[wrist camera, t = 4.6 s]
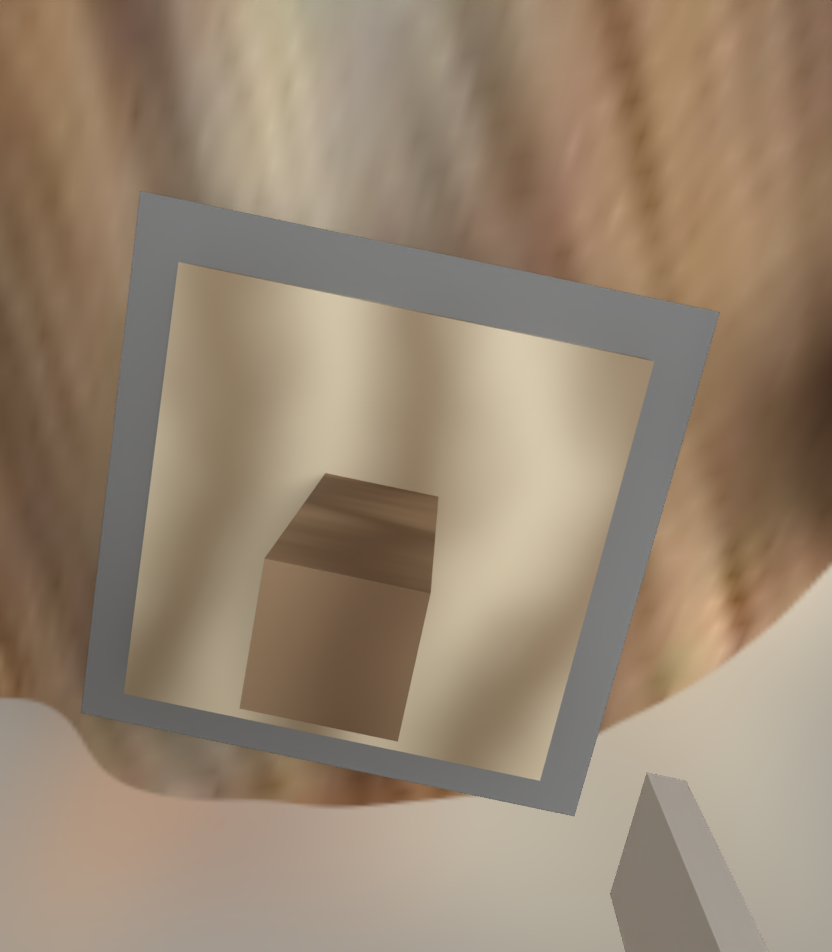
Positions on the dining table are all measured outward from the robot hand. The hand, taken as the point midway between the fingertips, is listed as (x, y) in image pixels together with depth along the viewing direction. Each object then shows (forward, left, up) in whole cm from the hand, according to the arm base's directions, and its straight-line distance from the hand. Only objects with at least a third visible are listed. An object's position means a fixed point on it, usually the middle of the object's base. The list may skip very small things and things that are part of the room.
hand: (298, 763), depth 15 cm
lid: (0, 0, -14) cm, 14 cm away
